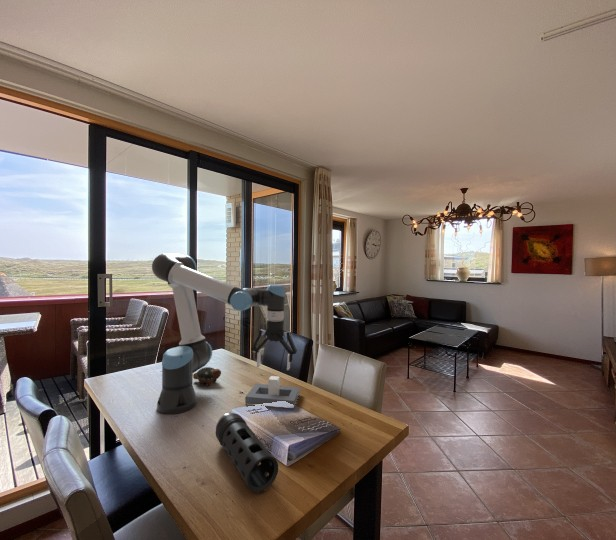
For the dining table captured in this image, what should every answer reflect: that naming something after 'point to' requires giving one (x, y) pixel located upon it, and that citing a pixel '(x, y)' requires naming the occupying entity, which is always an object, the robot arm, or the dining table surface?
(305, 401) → the dining table surface
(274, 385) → the plug
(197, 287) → the robot arm
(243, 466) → the muzzle brake
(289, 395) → the block
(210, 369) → the decorative turtle
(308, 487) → the dining table surface
